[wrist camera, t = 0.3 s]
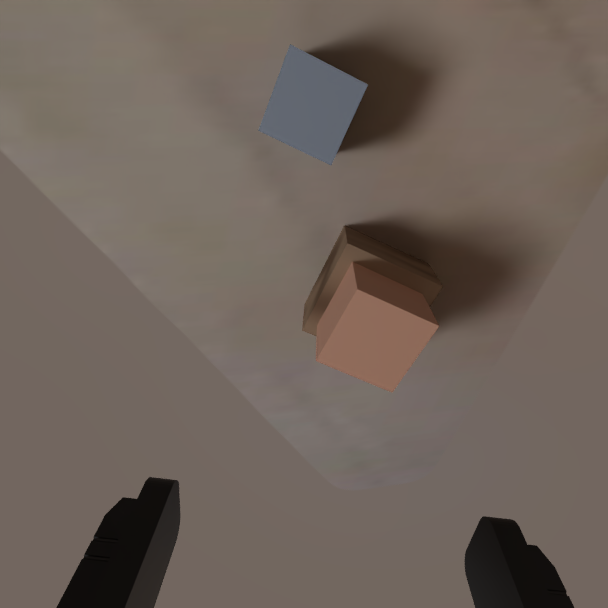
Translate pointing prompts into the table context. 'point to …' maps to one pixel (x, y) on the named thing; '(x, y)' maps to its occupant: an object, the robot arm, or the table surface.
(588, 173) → the table surface
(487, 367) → the table surface
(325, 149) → the slate block
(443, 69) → the table surface
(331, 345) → the top block
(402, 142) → the table surface
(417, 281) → the base block
